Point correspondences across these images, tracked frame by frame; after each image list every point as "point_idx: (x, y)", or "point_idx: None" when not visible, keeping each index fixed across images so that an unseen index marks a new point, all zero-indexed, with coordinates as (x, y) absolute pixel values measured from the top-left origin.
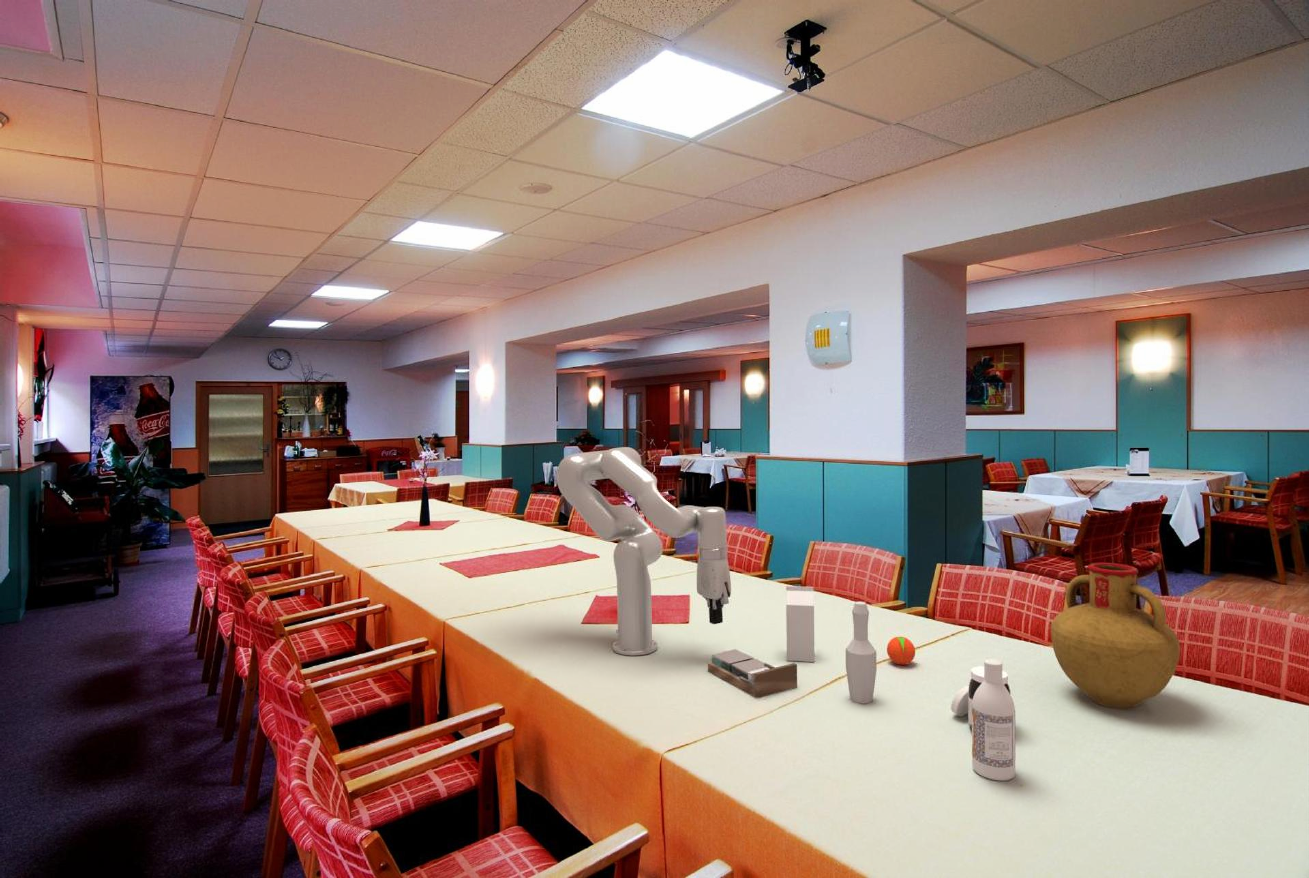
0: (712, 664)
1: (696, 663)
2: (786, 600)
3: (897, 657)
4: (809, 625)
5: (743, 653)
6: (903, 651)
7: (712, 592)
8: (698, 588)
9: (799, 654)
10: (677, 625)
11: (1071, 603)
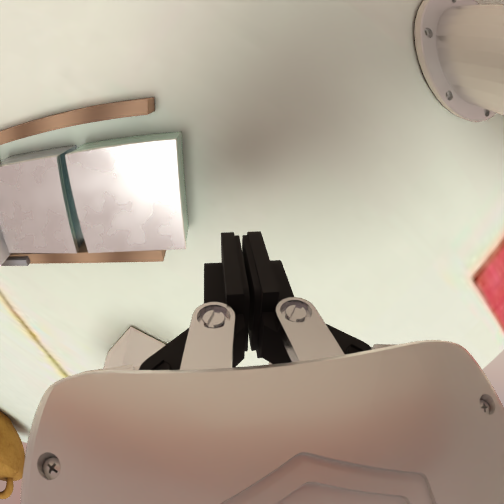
0: (126, 109)
1: (244, 101)
2: None
3: None
4: None
5: (132, 247)
6: None
7: (104, 451)
8: (462, 387)
9: (115, 351)
10: (483, 253)
11: (6, 480)
